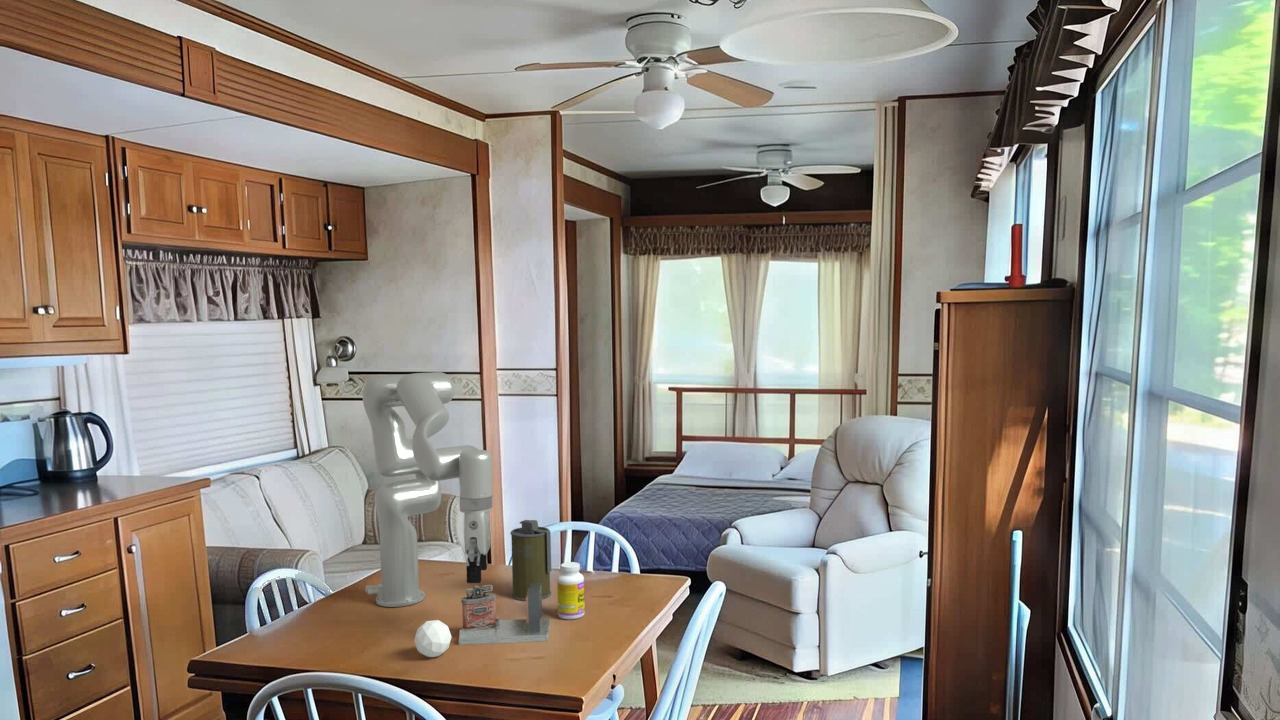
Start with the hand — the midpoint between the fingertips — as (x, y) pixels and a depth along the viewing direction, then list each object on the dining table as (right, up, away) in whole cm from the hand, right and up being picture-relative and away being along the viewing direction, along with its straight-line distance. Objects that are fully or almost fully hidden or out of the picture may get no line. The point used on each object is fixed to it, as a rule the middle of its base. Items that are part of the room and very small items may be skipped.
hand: (477, 576), depth 194 cm
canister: (+9, -13, +30) cm, 33 cm away
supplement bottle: (+21, -13, +12) cm, 28 cm away
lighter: (0, -13, 0) cm, 13 cm away
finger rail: (+7, -14, 0) cm, 15 cm away
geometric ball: (-7, -15, -11) cm, 20 cm away
